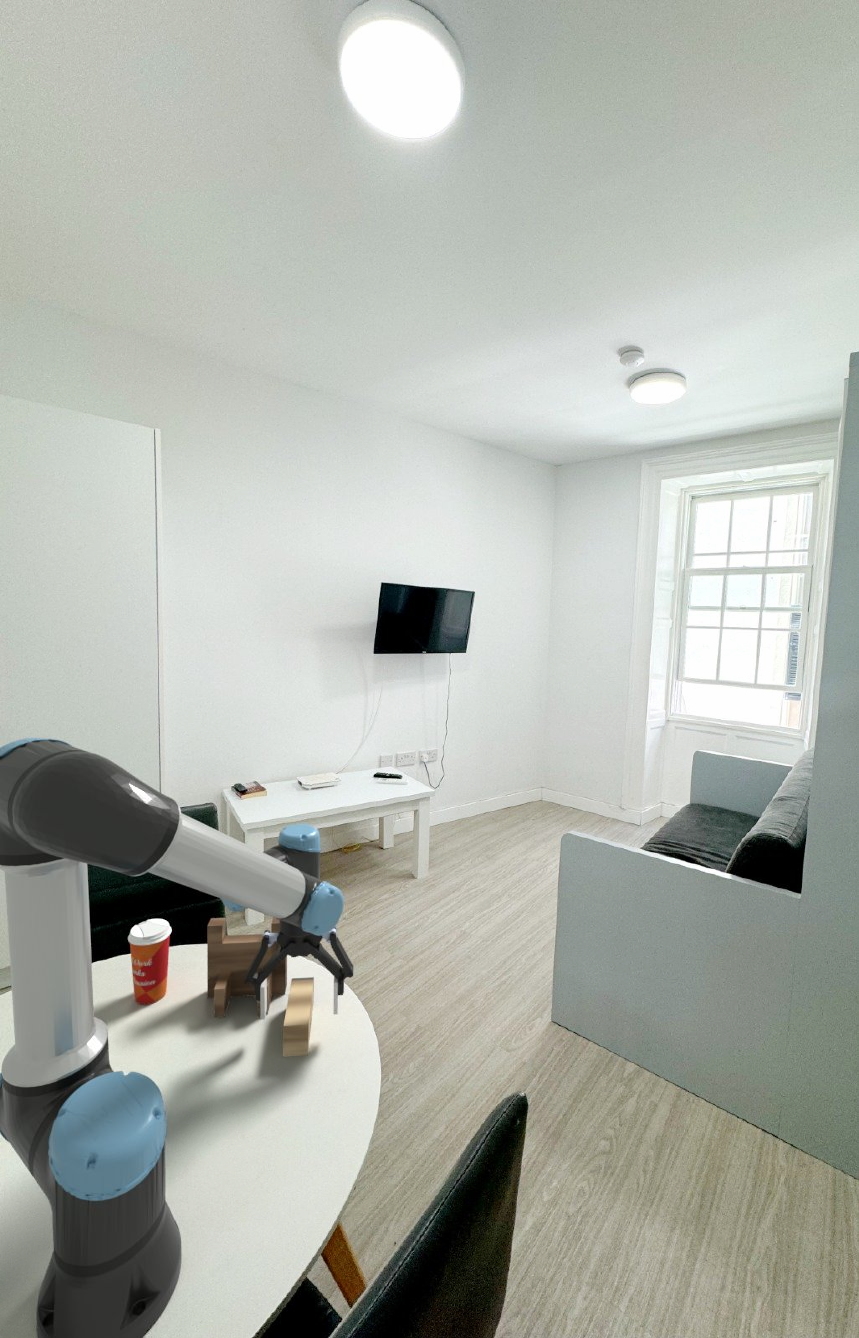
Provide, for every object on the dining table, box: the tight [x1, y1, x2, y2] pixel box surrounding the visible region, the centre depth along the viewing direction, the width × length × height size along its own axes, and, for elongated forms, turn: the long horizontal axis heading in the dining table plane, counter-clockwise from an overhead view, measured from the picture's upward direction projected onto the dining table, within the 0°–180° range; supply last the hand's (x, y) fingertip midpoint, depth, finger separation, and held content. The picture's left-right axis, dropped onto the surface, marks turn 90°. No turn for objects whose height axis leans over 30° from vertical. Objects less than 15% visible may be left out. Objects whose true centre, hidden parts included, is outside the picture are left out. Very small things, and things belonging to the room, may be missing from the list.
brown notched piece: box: [206, 917, 288, 1018], centre depth 118 cm, size 9×16×16 cm, turn 98°
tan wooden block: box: [282, 976, 315, 1057], centre depth 111 cm, size 14×4×6 cm, turn 7°
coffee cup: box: [127, 918, 173, 1005], centre depth 119 cm, size 8×8×15 cm
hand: (300, 1012), depth 109 cm, fingers open, 13 cm apart
